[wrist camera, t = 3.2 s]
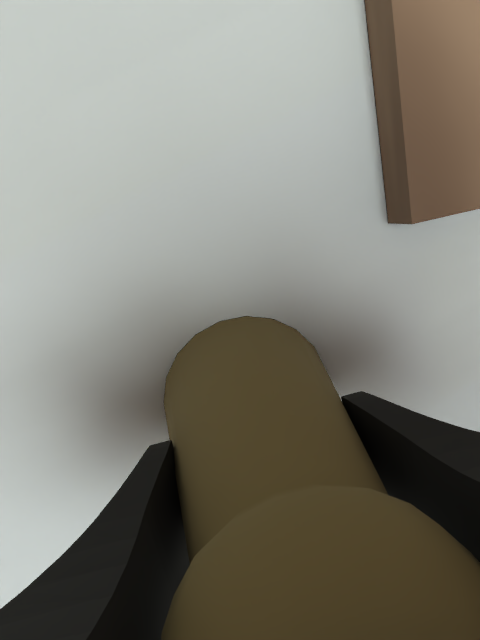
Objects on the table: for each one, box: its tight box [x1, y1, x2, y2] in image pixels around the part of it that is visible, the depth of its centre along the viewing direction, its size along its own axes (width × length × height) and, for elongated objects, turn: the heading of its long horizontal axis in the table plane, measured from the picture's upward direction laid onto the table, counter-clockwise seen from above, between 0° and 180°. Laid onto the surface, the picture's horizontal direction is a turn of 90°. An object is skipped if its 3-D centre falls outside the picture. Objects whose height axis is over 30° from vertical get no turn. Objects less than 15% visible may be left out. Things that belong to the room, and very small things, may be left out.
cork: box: [161, 316, 480, 640], centre depth 9 cm, size 6×6×11 cm
